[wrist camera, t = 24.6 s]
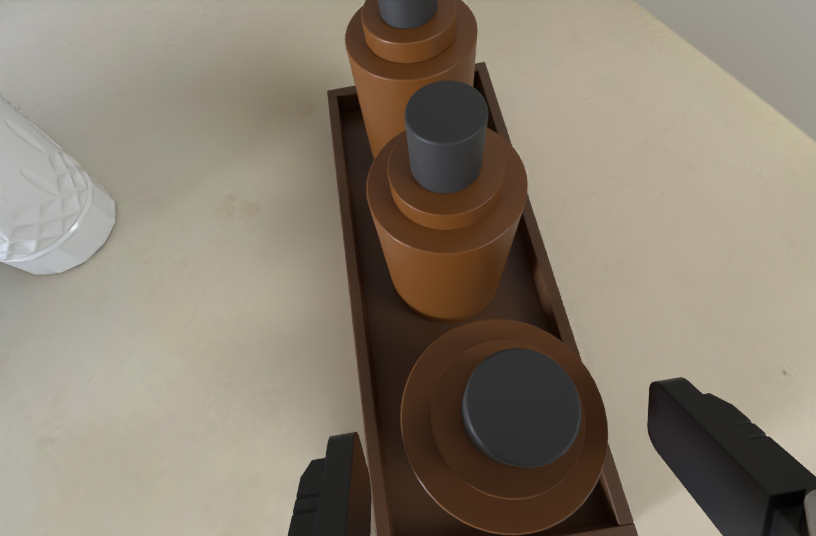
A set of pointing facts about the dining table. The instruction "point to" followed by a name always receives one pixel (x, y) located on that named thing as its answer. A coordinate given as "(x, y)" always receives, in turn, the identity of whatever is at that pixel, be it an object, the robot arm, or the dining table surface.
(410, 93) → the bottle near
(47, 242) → the white cup
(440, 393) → the bottle
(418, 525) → the tray
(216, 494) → the dining table surface
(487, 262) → the bottle mid
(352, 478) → the robot arm
